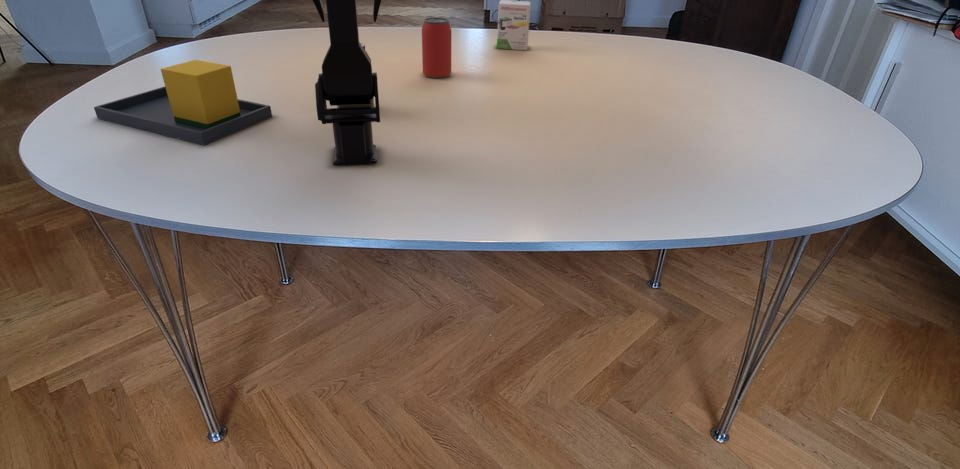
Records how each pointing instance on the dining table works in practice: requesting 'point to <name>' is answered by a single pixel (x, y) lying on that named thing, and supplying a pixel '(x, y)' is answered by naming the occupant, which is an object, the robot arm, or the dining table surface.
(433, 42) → the beer can
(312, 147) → the dining table surface
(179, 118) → the sponge
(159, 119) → the tray
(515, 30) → the ink box
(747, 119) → the dining table surface
